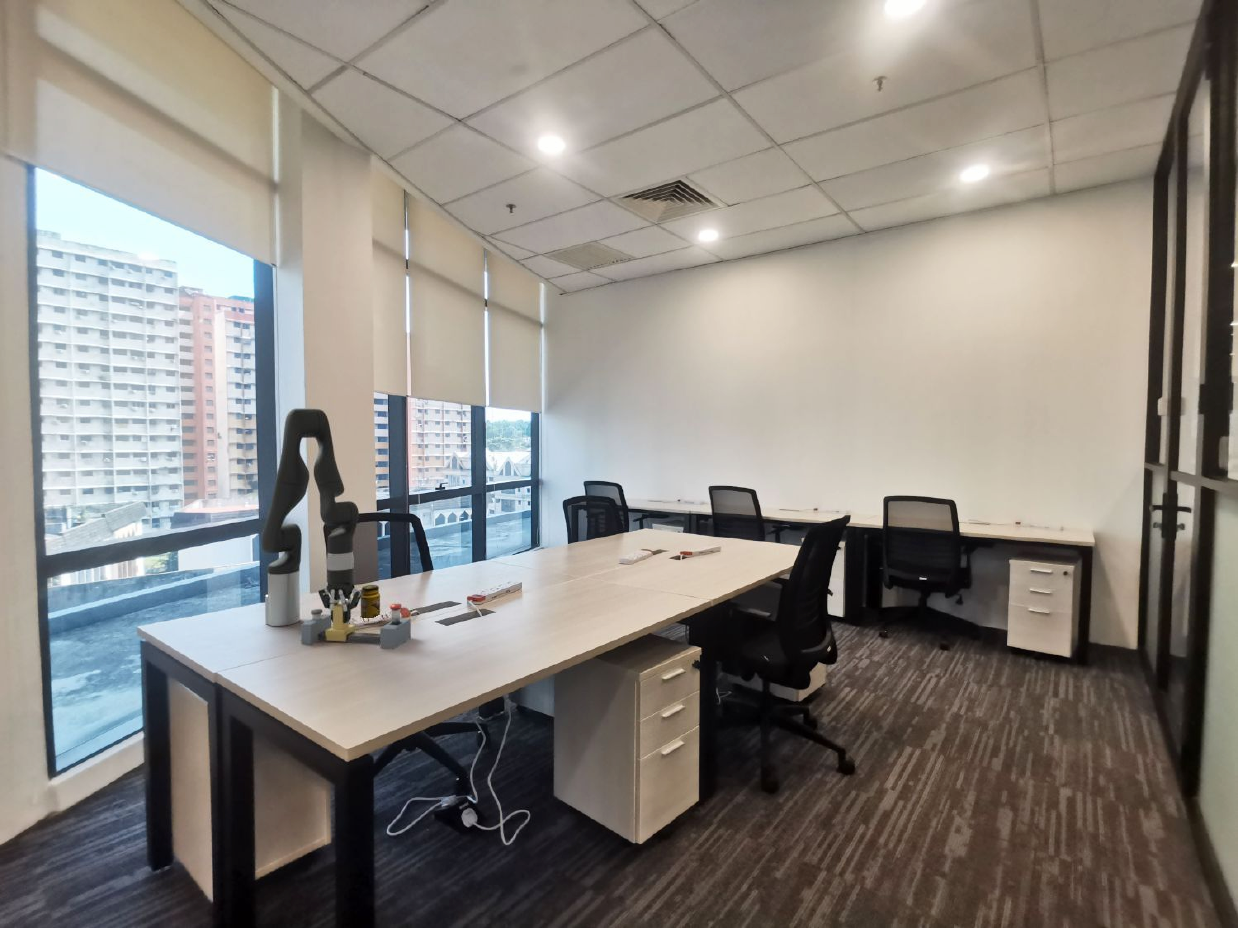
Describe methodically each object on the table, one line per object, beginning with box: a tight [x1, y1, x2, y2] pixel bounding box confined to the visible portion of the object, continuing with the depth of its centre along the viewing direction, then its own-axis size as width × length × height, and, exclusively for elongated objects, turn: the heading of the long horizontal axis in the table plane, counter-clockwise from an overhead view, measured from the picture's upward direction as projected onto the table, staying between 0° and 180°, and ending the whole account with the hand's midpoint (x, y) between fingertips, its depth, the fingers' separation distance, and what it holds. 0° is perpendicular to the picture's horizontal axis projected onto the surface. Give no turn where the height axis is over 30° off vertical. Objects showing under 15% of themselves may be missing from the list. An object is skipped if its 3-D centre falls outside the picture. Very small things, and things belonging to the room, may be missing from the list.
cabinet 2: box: [379, 617, 412, 650], centre depth 171 cm, size 4×10×6 cm, turn 173°
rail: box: [318, 631, 380, 645], centre depth 172 cm, size 22×3×2 cm, turn 83°
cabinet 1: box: [300, 608, 332, 645], centre depth 174 cm, size 3×10×9 cm, turn 173°
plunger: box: [389, 603, 402, 625], centre depth 171 cm, size 3×3×6 cm
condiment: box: [360, 584, 381, 618], centre depth 191 cm, size 7×8×12 cm
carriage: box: [326, 603, 357, 642], centre depth 173 cm, size 6×6×10 cm
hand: (340, 621), depth 173 cm, fingers closed on carriage, 3 cm apart
